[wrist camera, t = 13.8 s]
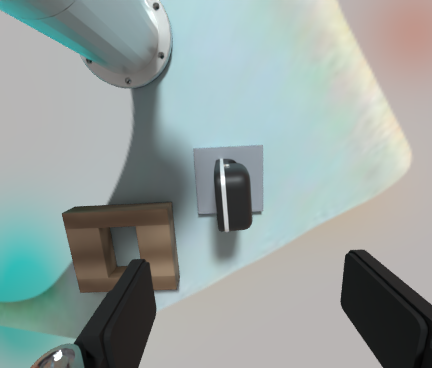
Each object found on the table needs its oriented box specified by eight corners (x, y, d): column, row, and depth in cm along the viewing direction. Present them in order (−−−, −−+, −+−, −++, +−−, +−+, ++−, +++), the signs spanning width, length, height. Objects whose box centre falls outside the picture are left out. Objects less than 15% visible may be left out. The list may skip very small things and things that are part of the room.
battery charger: (244, 201, 33) (256, 236, 22) (219, 203, 33) (218, 239, 22) (241, 155, 31) (253, 168, 20) (215, 157, 31) (212, 171, 20)
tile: (194, 148, 32) (193, 148, 31) (261, 144, 32) (262, 145, 31) (199, 211, 34) (198, 214, 33) (261, 208, 34) (263, 211, 33)
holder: (75, 206, 35) (61, 213, 32) (171, 202, 34) (167, 208, 31) (91, 280, 38) (80, 292, 35) (179, 277, 37) (176, 289, 34)
